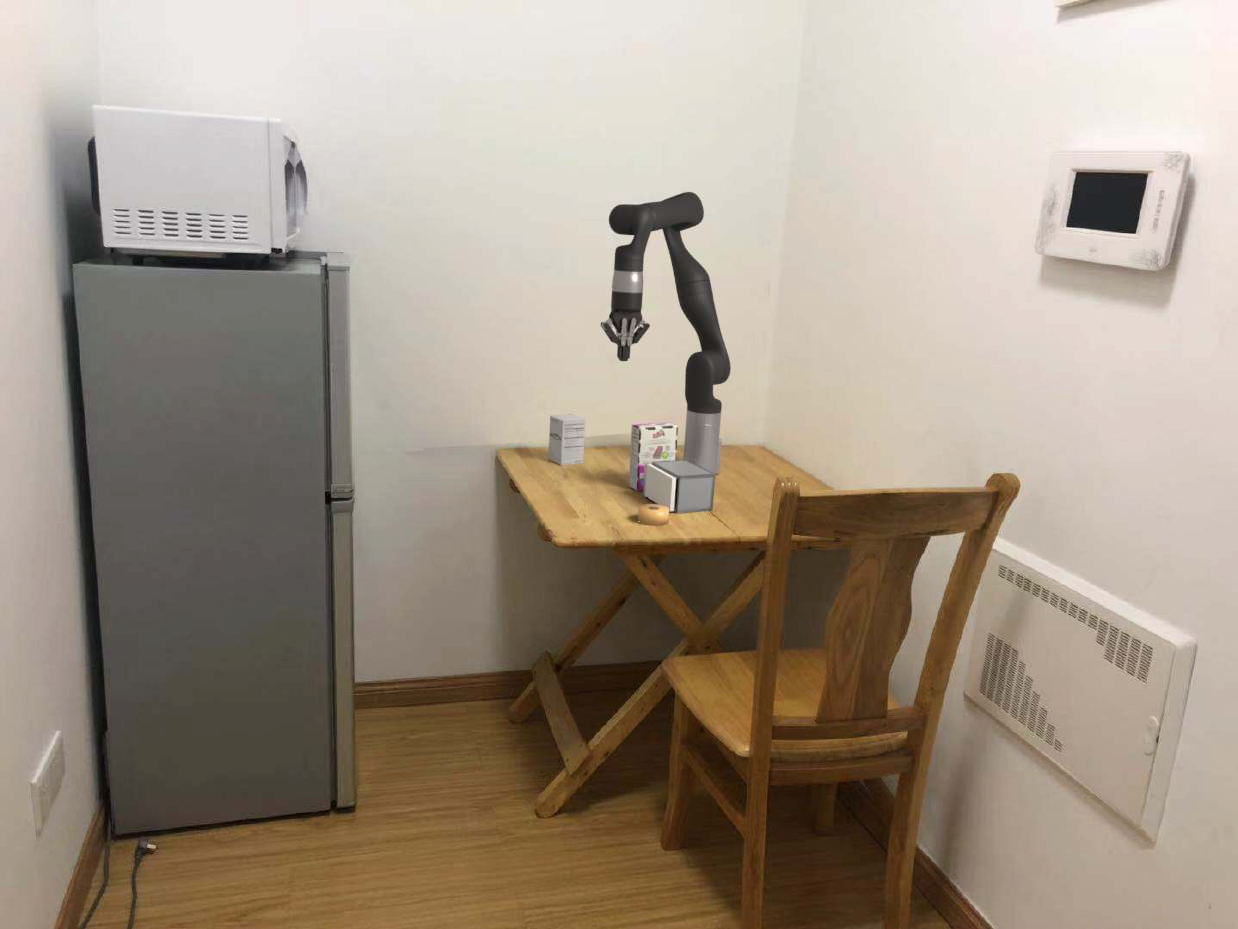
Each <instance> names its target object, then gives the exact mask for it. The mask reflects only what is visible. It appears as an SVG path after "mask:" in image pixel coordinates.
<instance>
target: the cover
mask: <svg viewBox="0 0 1238 929" xmlns="http://www.w3.org/2000/svg"><path fill="white" fill-rule="evenodd" d="M675 488H676V478H675V477H673V476H671V475H670V474H668V473H666V472H664V471H662V470H661V469H659V468H657V467H655V466H653V465H651V464H650V463H645V469H644V484H643V491H642V498H644V497H646V498H645V499H650V500H651V501H652V502H654V503H655V504H659V505H663V506H666V507H668V508H669V512H674V502H675ZM647 497H648V498H647Z"/></svg>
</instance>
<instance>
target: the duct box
mask: <svg viewBox="0 0 1238 929" xmlns="http://www.w3.org/2000/svg"><path fill="white" fill-rule="evenodd" d="M652 465H653V466H655V467H657V468H659V469H661V470H662V471H664V472H666V473H668V474H670V475H671V476H673V477H675V478H676V488H675V502H674V511H673V512H674V513H676V514H688V513H699V512H708V511H709V512H711V511H713V508H714V496H715V485H716V483H715V482H716V475H717V474H715V473H713V472H711V471H709V470H707V469H705V468H702V467H700V466H698V465H696V464H694V463H692V462H690V461H688V460H683V459H678V460H677V459H676V460H673V461H657V462H652Z"/></svg>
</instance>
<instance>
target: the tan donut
mask: <svg viewBox="0 0 1238 929" xmlns="http://www.w3.org/2000/svg"><path fill="white" fill-rule="evenodd" d="M669 517H670V511H669V508H668V507H666V506H663V505H659V504H657V503H645V504H640V505H639V506H638V511H637V522H638V521H640V522H641V523H640V522H639V523H640V524H642V523H644V524H643V525H645V524H647V526H652V525H653V527H654V526H655V525H657V526H658V525H660V526H665V525H667V523H668V524H669V519H670V518H669ZM657 526H655V527H657Z"/></svg>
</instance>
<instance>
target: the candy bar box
mask: <svg viewBox="0 0 1238 929" xmlns="http://www.w3.org/2000/svg"><path fill="white" fill-rule="evenodd" d="M678 431H679V426H678V424H677V425H676V424H674V423H672V422H667V421H666V422H654V423H653V422H651V423H640V424H638V423H637V424H632V425H631V434H630V435H631V436H630V458H629V482H628V487H629V488H630V487H631V489H632V490H634V491H636V492H643V484H644V469H645V463H650V464H651V465H652V462H657V461H673V460H677V450H678V433H679V432H678Z"/></svg>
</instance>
